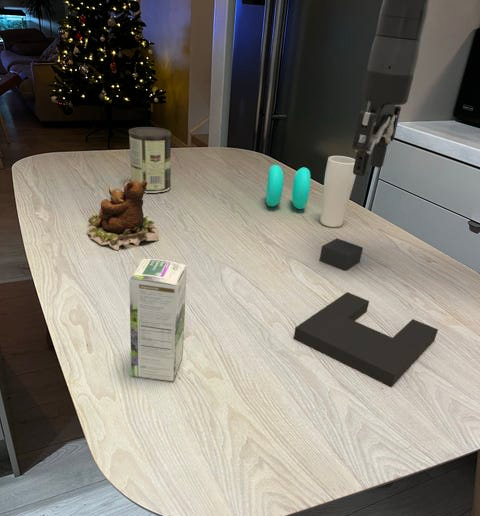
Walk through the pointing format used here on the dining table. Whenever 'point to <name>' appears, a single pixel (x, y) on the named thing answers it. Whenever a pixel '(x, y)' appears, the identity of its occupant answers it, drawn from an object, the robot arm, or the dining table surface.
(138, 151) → the coffee can
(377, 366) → the black notched slab
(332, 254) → the graphite block
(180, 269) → the syrup box
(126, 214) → the bear figurine
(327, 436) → the dining table surface
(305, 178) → the teal wheel pair
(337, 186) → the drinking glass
